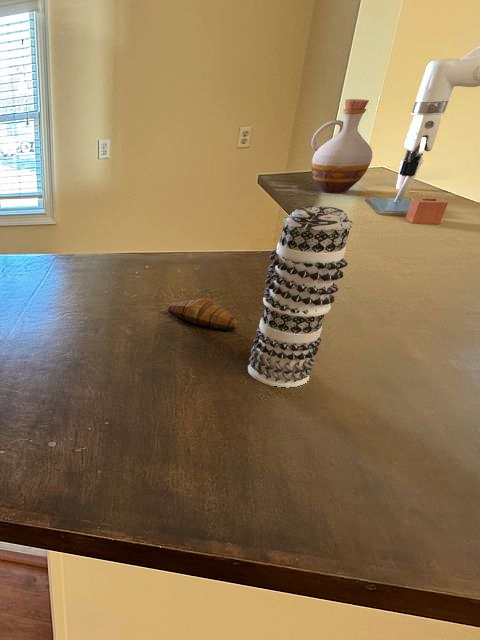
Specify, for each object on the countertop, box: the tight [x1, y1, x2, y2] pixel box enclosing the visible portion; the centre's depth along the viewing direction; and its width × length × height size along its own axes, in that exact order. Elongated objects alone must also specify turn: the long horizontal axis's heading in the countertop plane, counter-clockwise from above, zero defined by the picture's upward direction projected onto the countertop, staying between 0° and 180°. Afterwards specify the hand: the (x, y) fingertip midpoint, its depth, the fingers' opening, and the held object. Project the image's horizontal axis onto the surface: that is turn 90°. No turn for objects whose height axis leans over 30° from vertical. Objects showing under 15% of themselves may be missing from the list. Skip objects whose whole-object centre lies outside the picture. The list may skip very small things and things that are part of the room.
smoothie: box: [395, 158, 424, 191], centre depth 169 cm, size 6×6×14 cm
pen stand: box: [405, 196, 449, 225], centre depth 136 cm, size 6×6×6 cm
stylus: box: [394, 156, 424, 203], centre depth 149 cm, size 2×2×14 cm
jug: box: [311, 98, 373, 194], centre depth 170 cm, size 20×18×30 cm
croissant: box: [167, 297, 239, 331], centre depth 90 cm, size 14×7×5 cm, turn 43°
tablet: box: [364, 197, 412, 216], centre depth 151 cm, size 14×20×1 cm
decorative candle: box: [247, 205, 355, 389], centre depth 68 cm, size 9×9×25 cm
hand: (406, 174), depth 148 cm, fingers closed on stylus, 1 cm apart
